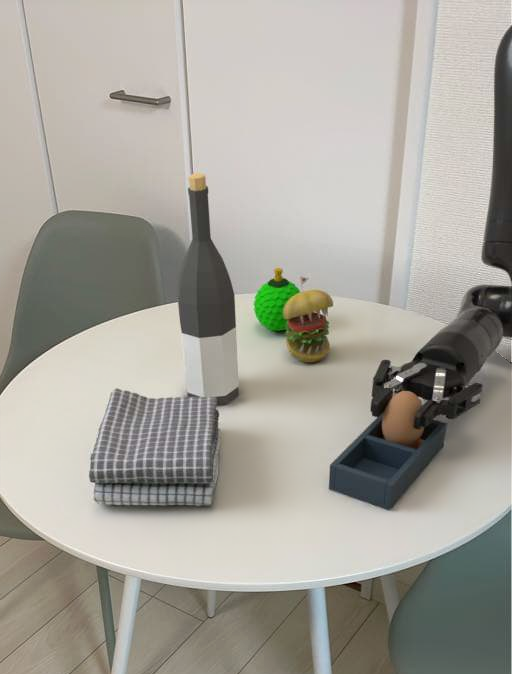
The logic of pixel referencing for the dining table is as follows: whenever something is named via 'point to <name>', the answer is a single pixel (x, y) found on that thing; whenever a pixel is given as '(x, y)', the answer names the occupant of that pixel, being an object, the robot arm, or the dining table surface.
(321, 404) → the dining table surface
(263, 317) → the ornament
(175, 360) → the dining table surface
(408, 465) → the divided tray
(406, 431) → the egg
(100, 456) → the towel
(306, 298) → the hamburger
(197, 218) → the wine bottle
